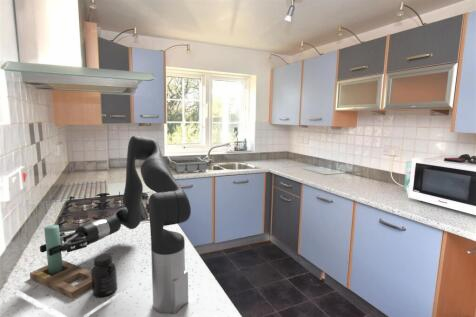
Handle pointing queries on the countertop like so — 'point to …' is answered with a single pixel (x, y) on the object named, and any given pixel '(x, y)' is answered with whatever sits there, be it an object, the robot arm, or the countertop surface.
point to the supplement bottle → (103, 276)
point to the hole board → (64, 279)
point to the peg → (51, 241)
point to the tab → (88, 265)
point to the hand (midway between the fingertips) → (44, 251)
